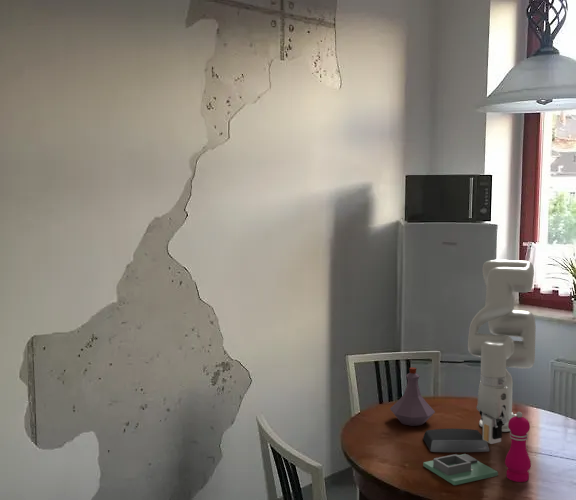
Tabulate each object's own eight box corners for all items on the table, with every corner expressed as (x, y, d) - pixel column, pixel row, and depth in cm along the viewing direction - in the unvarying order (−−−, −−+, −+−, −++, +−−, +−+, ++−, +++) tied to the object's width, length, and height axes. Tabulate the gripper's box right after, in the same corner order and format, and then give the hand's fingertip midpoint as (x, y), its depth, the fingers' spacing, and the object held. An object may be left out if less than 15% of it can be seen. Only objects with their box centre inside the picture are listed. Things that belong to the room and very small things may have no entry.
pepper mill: (500, 473, 203) (502, 408, 201) (524, 472, 203) (525, 407, 201) (510, 483, 195) (512, 416, 194) (534, 482, 196) (536, 415, 194)
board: (465, 457, 214) (465, 446, 214) (497, 475, 201) (498, 463, 200) (423, 466, 208) (423, 454, 208) (454, 485, 194) (454, 473, 194)
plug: (492, 437, 217) (492, 413, 216) (501, 441, 213) (501, 417, 212) (481, 439, 215) (481, 415, 214) (489, 444, 211) (490, 419, 210)
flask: (387, 427, 242) (388, 372, 240) (391, 412, 258) (392, 361, 256) (434, 431, 238) (435, 375, 236) (435, 416, 254) (436, 363, 252)
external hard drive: (490, 453, 219) (490, 441, 218) (430, 453, 219) (431, 441, 218) (478, 438, 232) (478, 427, 231) (422, 439, 232) (422, 427, 231)
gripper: (521, 386, 206) (520, 443, 208) (484, 370, 221) (483, 424, 223) (502, 389, 203) (500, 447, 205) (466, 374, 218) (465, 428, 220)
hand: (491, 435), depth 214 cm, fingers closed on plug, 4 cm apart
